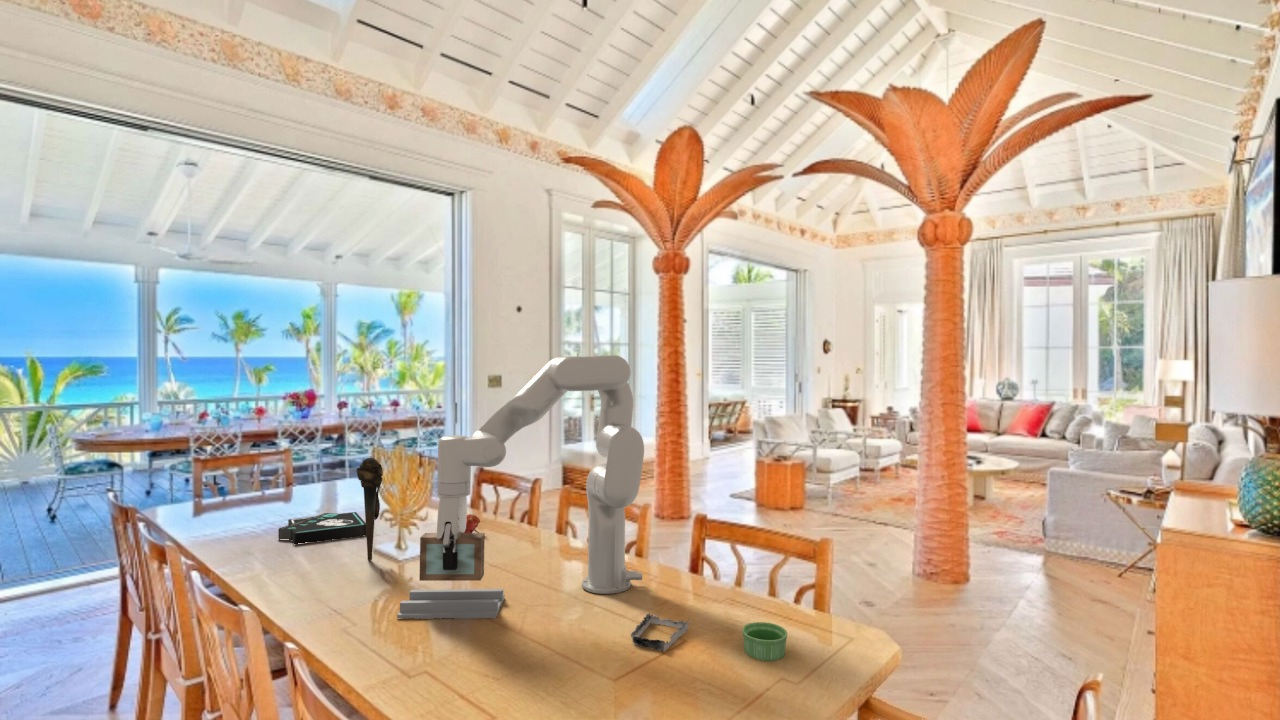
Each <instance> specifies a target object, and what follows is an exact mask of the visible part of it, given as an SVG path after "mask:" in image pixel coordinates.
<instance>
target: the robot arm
mask: <svg viewBox="0 0 1280 720" xmlns="http://www.w3.org/2000/svg"><path fill="white" fill-rule="evenodd" d="M630 377H631V367H630V364H629V363H628V361H627V360H626V359H625V358H623V357H622V356H619V355H612V354H611V355H608V354H607V355H606V354H605V355H603V354H602V355H596V356H595V355H594V356H593V355H592V356H568V355H567V356H557V357H554V358H552V359H550V360H549V361H548V362H547V363H546V364H545V365H544V366H543V367H542V368H541V369H540V370H539V371H538V372H537V373H536V374H535V375H534V376H533V377H532V378H531V379H530V380H529V381H528V383H526V384H525V385H524V387H522V388H521V389H520V391H518V392H517V393H516V395H514V396H513V397H512V398H510V399H509V400H508V401H507V402H506V403H505V404H503V406H501V407H500V408H499V409H497V410H496V411H495V412H494V413H493V414H492V415H491V416H490V417H488V419H487V420H486V421H485V422H484V423H483V424H482V425H481V426H480V427H478V429H477V430H476V431H474V433H473V435H472V436H471V437H469V436H466V435H458V434H456V435H445V436H441V438H439V440H438V442H437V443H438V444H437V445H438V446H437V491H436V494H437V497H439V501H438V510H437V522H436V533H437V539H438V540H441V539H442V537H443V536H444V540H443V570H456V569H457V557H458V552H456V546H457V539H458V538H459V537H460V536H461V535H462V534H463V533H464V532H465V530H466V521H467V515H468V514H467V510H468V509H467V501H468V500H467V496H470V495H471V481H472V480H471V478H472V477H471V476H472V475H471V474H472V467H480V468H492V467H493V468H494V467H496V466H499V465H500V464H501V463H502V462H503V461H504V459H505V458H506V454H507V448H506V444H505V443H507V441H509V440H510V439H511V438H512V437H513V436H514V435H515V434H516V433H517V432H519V431H520V430H522V429H523V428H525V427H526V428H527V427H528V426H530V425H533V424H535V423H537V422H538V421H540V420H541V419H542V418H543V417H544V416H545V415H546V414H547V413H548V412H549V411H550V409H552V408H553V407H554V406H555V404H556V403H557V402H558V401H559V400H560V399H561V398H562V397H563V396H564V395H565V394H566V393H567V392H588V391H590V392H591V391H597V392H598V394H599V398H600V410H599V411H600V412H599V413H600V414H599V419H598V420H599V421H598V428H597V433H596V439H595V440H596V441H595V448H596V450H597V452H598V453H599V454H600V455H601V456H602V457H604V458H606V463H600V464H598V465H596V466H594V467H593V468H592V469H591V470H590V471H589V473H588V474H587V477H586V483H585V485H586V487H585V488H586V497H587V508H588V538H587V539H588V540H587V541H588V543H587V545H588V546H587V548H588V549H587V553H588V556H587V557H588V559H587V560H588V561H587V562H588V563H587V564H588V565H587V566H588V567H587V577H585V578H584V579H582V581H581V586H582V588H583V590H585V591H587V592H589V593H593V594H599V595H612V594H614V595H615V594H619V593H622V592H625V591H627V590H628V589H630V587H631V583H632V582H631V581H643V572H640V571H638V570H629V569H627V565H626V564H625V563H626V511H625V508H627V507H629V506H631V504H633V502H635V500H636V498H637V496H638V494H639V490H640V485H641V478H642V472H643V464H644V455H645V443H644V439H643V437H642V435H641V433H640V432H639V431H638V429H636V428H634V427H632V424H633V423H632V422H633V413H634V412H633V411H634V397H633V392H632V388H631V386H630V384H629V380H630ZM451 536H454V537H453V538H454V539H450V537H451ZM450 542H453V544H452V543H450Z"/></svg>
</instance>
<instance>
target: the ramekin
mask: <svg viewBox="0 0 1280 720" xmlns="http://www.w3.org/2000/svg"><path fill="white" fill-rule="evenodd" d="M741 632H742V636H743V648H744V649H743V650H744V653H745V654H746V655H747V656H748V655H749V656H748V657H750V658H752V659H754V658H755V659H754V660H757V659H758V660H757V661H762V660H763V662H774V661H773V660H775V661H779V660H781V659H782V658H783V657H784V656H785V654H786V643H787V639H788V631H787V630H786V629H785V628H784V627H783V626H780V625H779V624H775V623H772V622H764V621H762V622H761V621H759V622H756V621H755V622H751V623H747V624H745V625H744V626H743V627H742V629H741Z"/></svg>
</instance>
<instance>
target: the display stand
mask: <svg viewBox="0 0 1280 720" xmlns="http://www.w3.org/2000/svg"><path fill="white" fill-rule="evenodd" d="M504 600H505V594H504V588H476V589H475V588H474V589H473V588H469V589H468V588H467V589H464V588H462V589H457V588H456V589H455V588H454V589H453V588H452V589H449V588H448V589H411V590H410V591H409V600H401V601H400V602H399V612H398V613H397V615H396V619H397V618H411V619H410V620H434V619H433V618H440V619H439V620H442V619H441V618H455V619H457V618H458V620H459V619H462V620H463V619H496V618H497V616H498V614H499V612H500V609H501V608H500V607H502V605H503V603H504ZM412 618H414V619H412ZM415 618H417V619H415ZM419 618H421V619H419ZM428 618H429V619H428ZM431 618H432V619H431Z"/></svg>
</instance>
